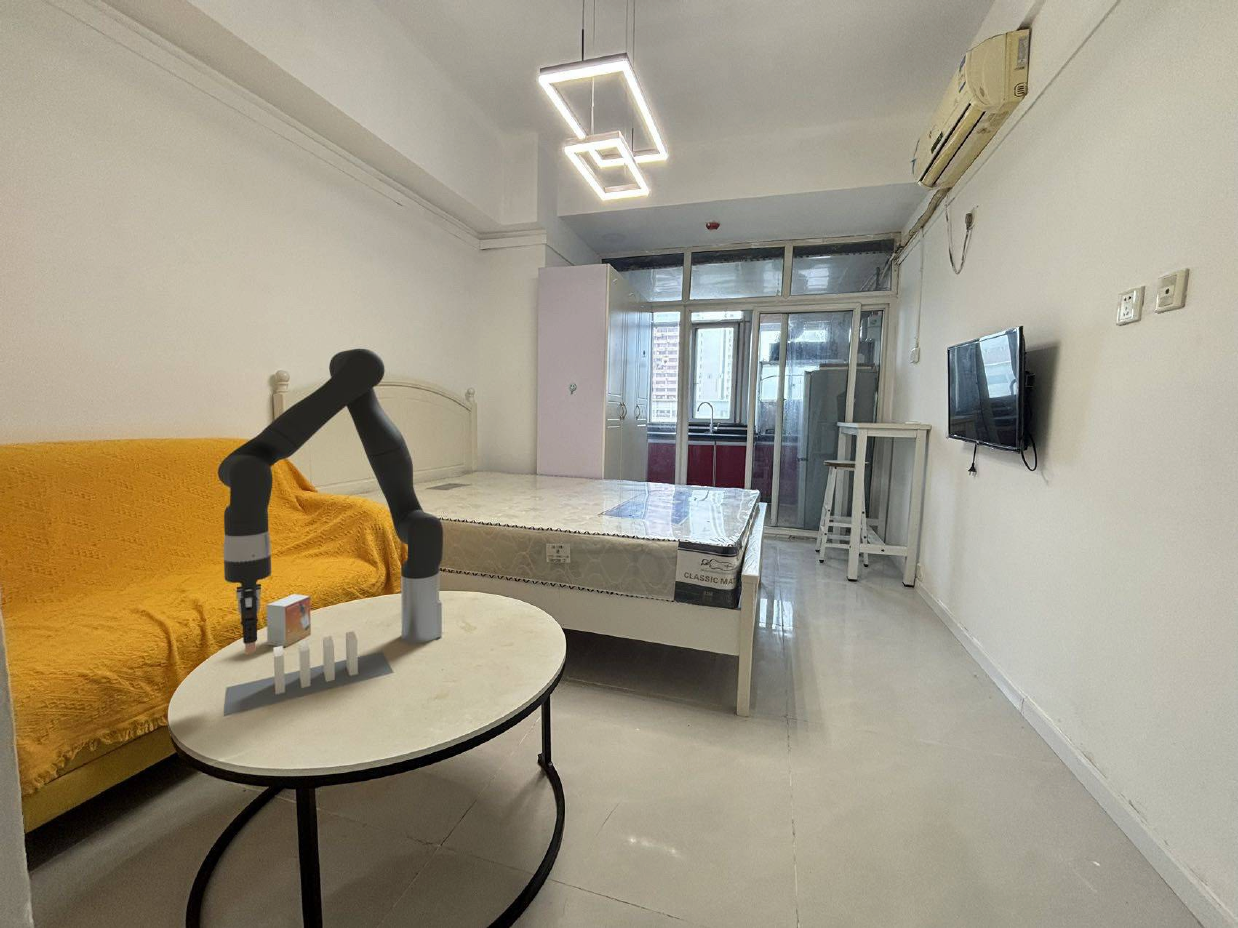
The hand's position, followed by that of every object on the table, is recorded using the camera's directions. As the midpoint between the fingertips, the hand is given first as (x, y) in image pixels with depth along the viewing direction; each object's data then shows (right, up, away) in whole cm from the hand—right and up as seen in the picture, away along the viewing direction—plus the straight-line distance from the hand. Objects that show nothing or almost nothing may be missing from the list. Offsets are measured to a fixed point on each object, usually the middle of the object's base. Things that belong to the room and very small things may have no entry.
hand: (250, 636), depth 100 cm
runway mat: (+8, -12, +7) cm, 17 cm away
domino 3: (+7, -12, +6) cm, 15 cm away
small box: (-10, -10, +26) cm, 30 cm away
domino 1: (0, -2, 0) cm, 2 cm away
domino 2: (+3, -12, +4) cm, 13 cm away
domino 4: (+11, -12, +9) cm, 18 cm away
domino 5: (+14, -12, +12) cm, 22 cm away
